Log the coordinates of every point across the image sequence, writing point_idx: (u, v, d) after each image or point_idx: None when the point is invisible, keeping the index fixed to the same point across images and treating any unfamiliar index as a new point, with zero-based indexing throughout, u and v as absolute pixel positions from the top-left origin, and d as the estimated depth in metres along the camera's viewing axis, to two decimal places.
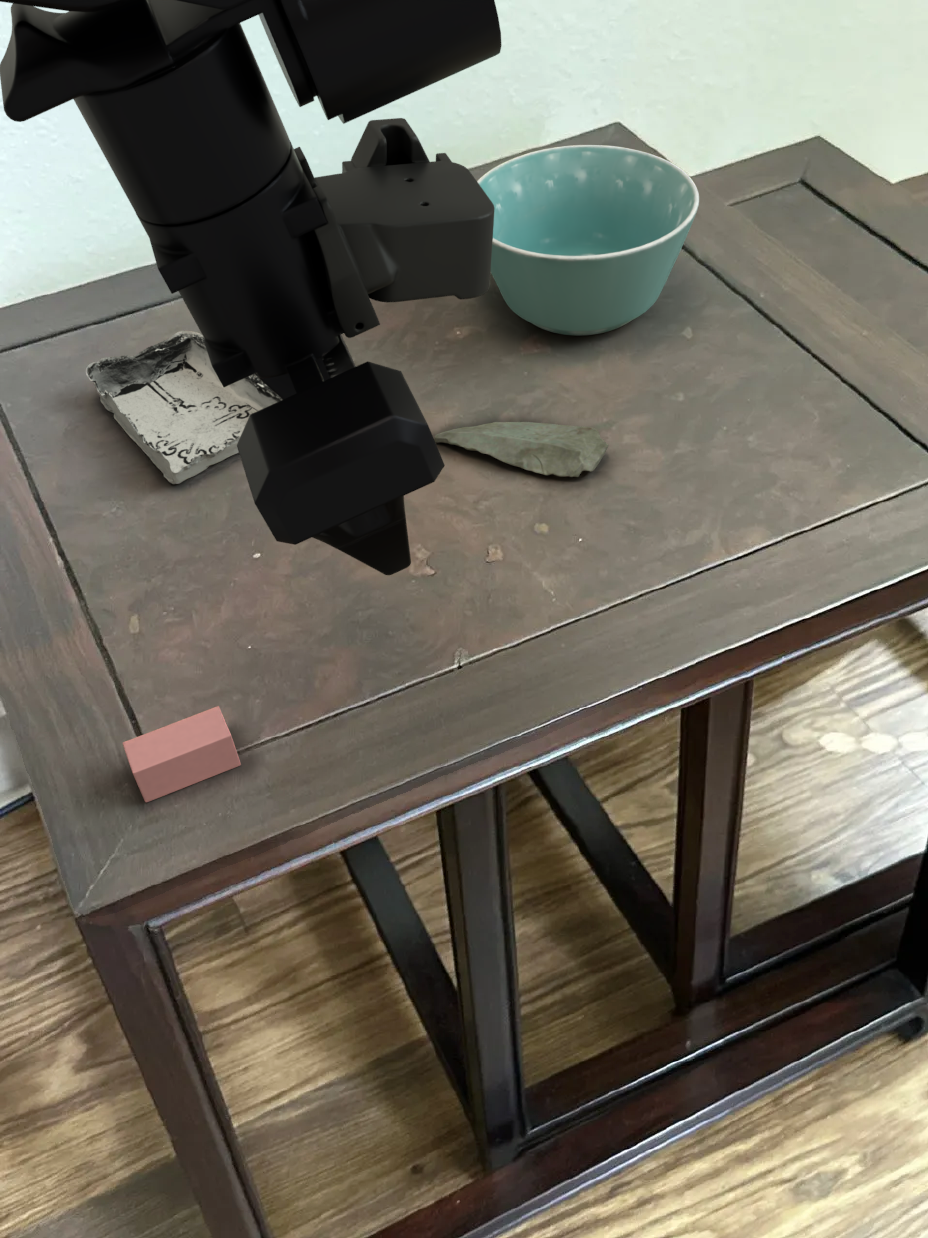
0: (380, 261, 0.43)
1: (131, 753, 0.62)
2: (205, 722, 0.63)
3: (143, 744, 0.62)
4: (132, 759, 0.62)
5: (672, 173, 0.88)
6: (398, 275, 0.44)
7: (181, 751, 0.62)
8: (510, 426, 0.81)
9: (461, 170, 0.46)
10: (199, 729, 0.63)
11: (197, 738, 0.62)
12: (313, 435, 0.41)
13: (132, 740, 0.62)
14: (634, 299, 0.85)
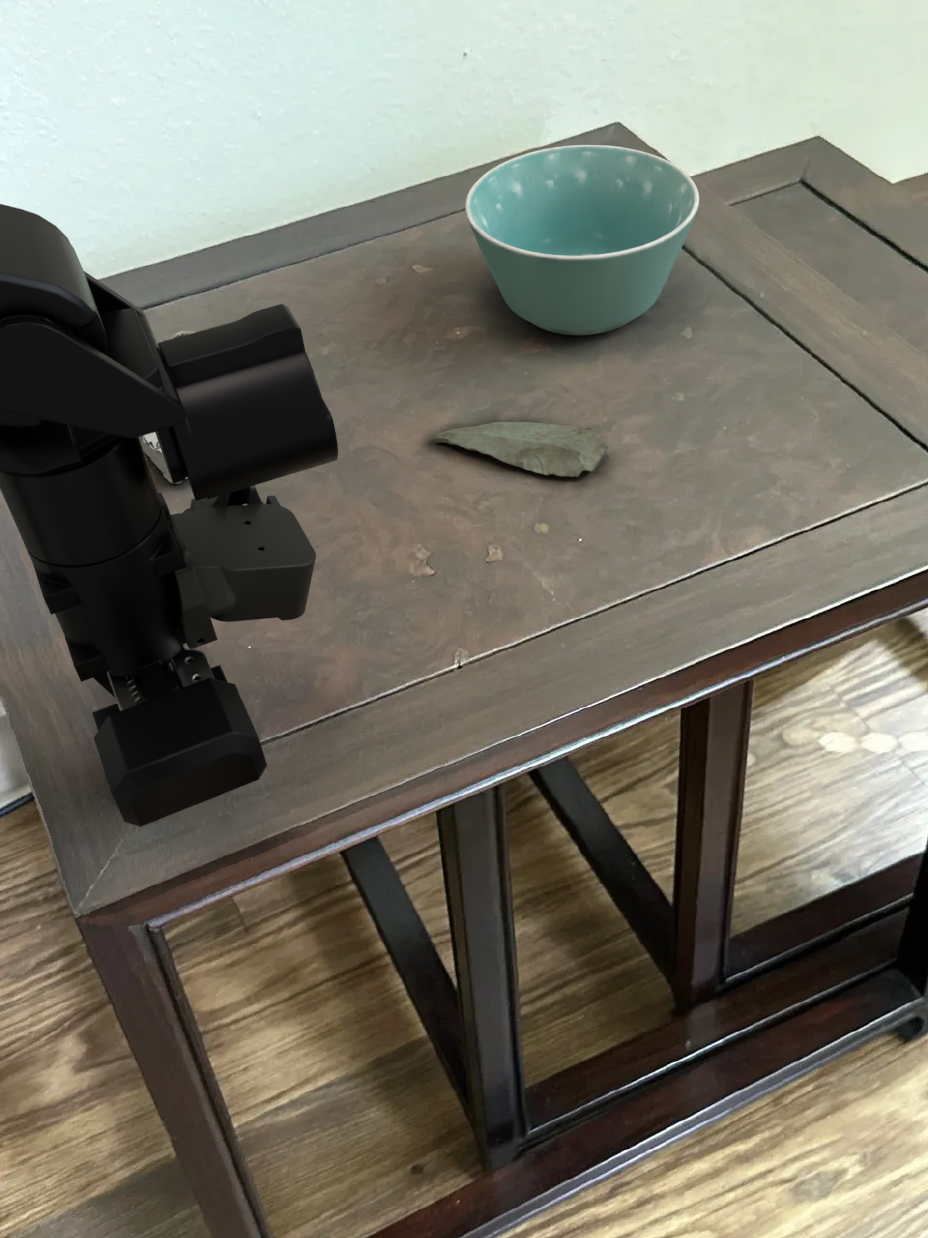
0: (223, 594, 0.54)
1: None
2: None
3: None
4: None
5: (672, 173, 0.88)
6: (236, 603, 0.55)
7: None
8: (510, 426, 0.81)
9: (288, 515, 0.58)
10: None
11: None
12: (165, 742, 0.51)
13: None
14: (634, 299, 0.85)
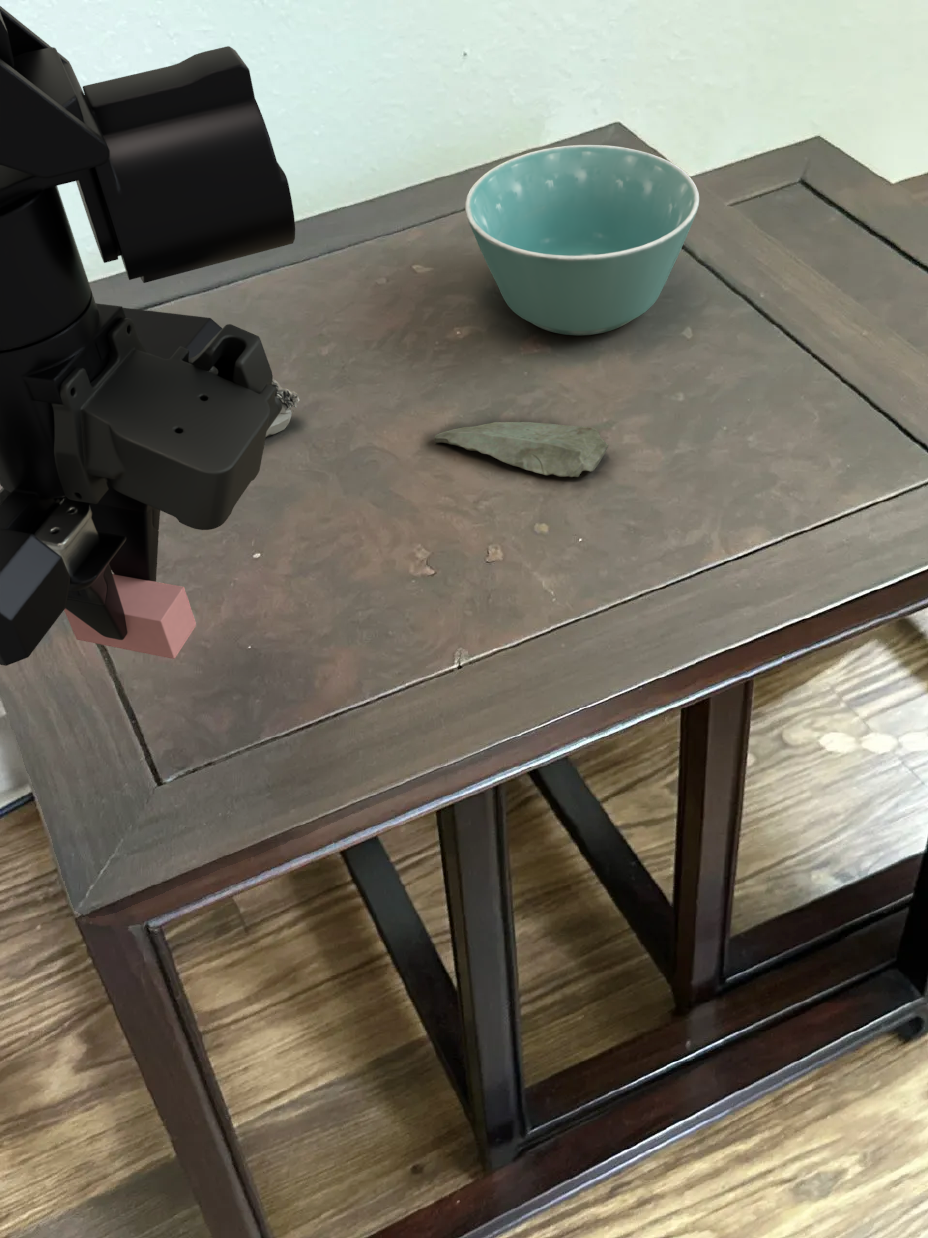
0: (105, 457, 0.45)
1: None
2: (158, 595, 0.55)
3: None
4: None
5: (672, 173, 0.88)
6: (123, 475, 0.46)
7: None
8: (510, 426, 0.81)
9: (260, 414, 0.47)
10: (146, 598, 0.55)
11: (135, 606, 0.55)
12: None
13: None
14: (634, 299, 0.85)
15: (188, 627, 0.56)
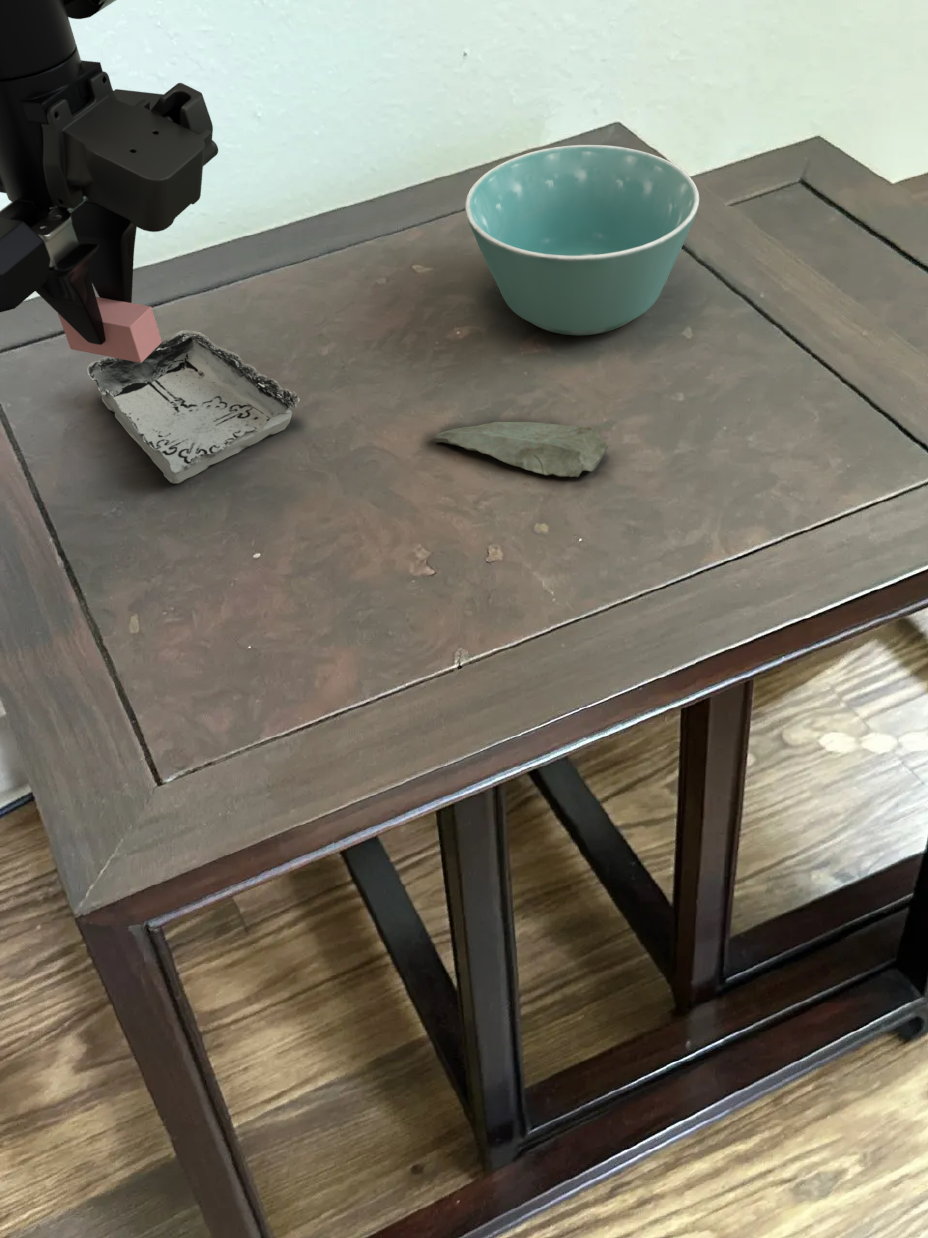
0: (79, 168, 0.62)
1: None
2: (131, 310, 0.72)
3: None
4: None
5: (672, 173, 0.88)
6: (92, 184, 0.62)
7: None
8: (510, 426, 0.81)
9: (196, 146, 0.63)
10: (121, 312, 0.71)
11: (112, 317, 0.71)
12: None
13: None
14: (634, 299, 0.85)
15: (154, 341, 0.73)
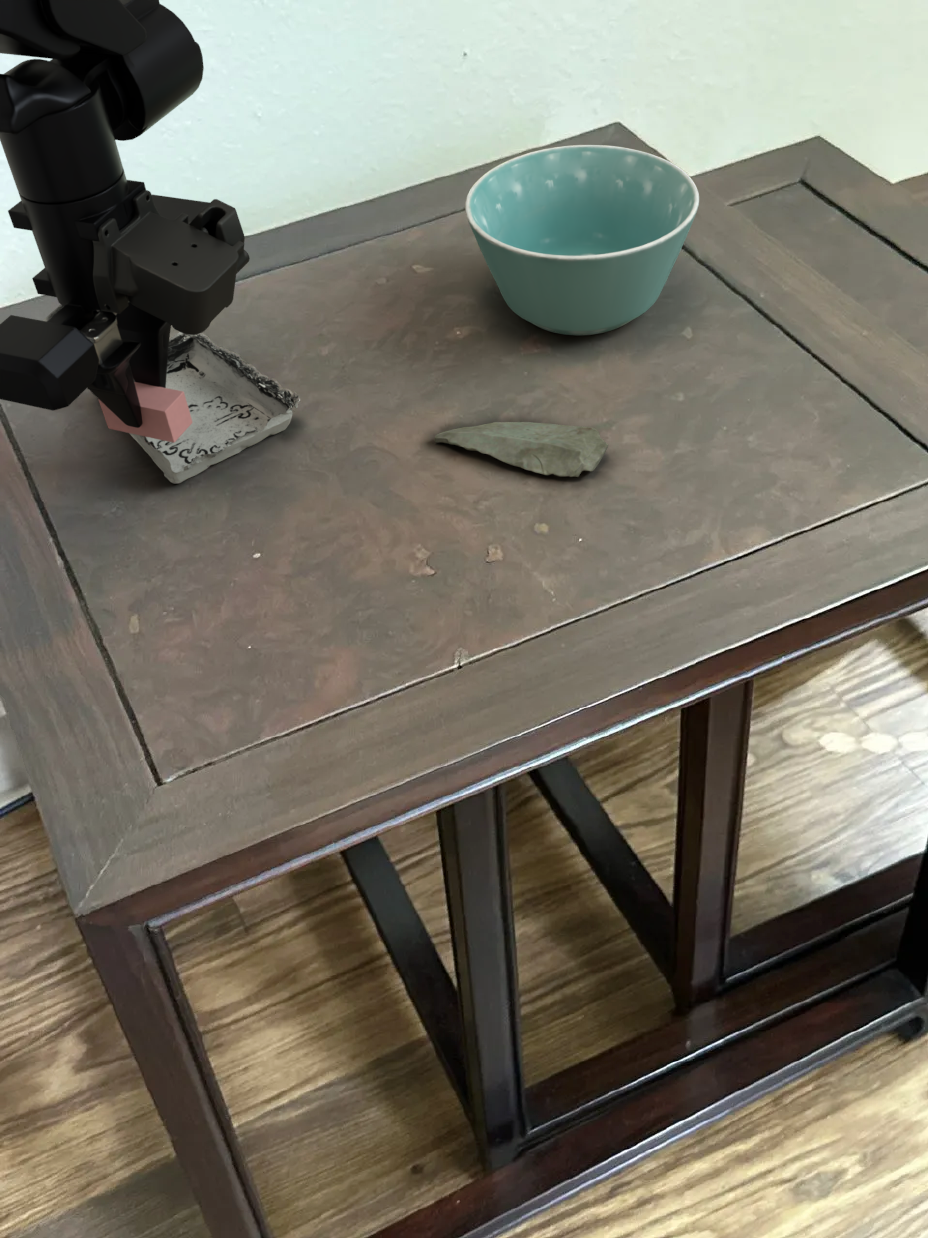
0: (125, 279, 0.68)
1: None
2: (165, 395, 0.78)
3: None
4: None
5: (672, 173, 0.88)
6: (137, 293, 0.69)
7: None
8: (510, 426, 0.81)
9: (231, 258, 0.70)
10: (156, 397, 0.78)
11: (148, 401, 0.78)
12: (7, 344, 0.68)
13: None
14: (634, 299, 0.85)
15: (186, 422, 0.79)
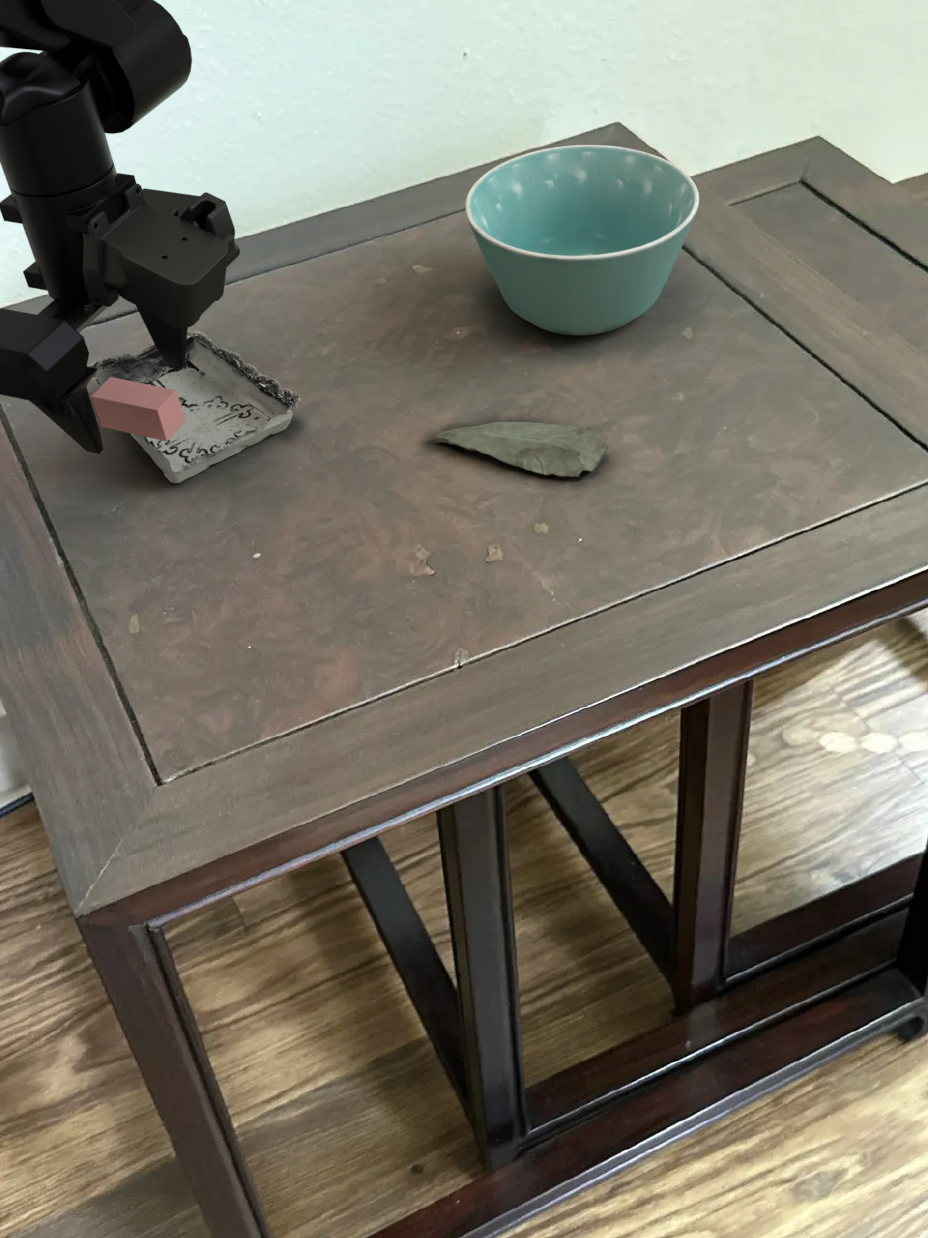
0: (115, 272, 0.68)
1: (105, 385, 0.79)
2: (158, 394, 0.78)
3: (116, 384, 0.79)
4: (101, 388, 0.79)
5: (672, 173, 0.88)
6: (127, 286, 0.69)
7: (125, 400, 0.78)
8: (510, 426, 0.81)
9: (221, 251, 0.70)
10: (149, 395, 0.78)
11: (141, 400, 0.78)
12: None
13: (115, 379, 0.80)
14: (634, 299, 0.85)
15: (179, 421, 0.79)
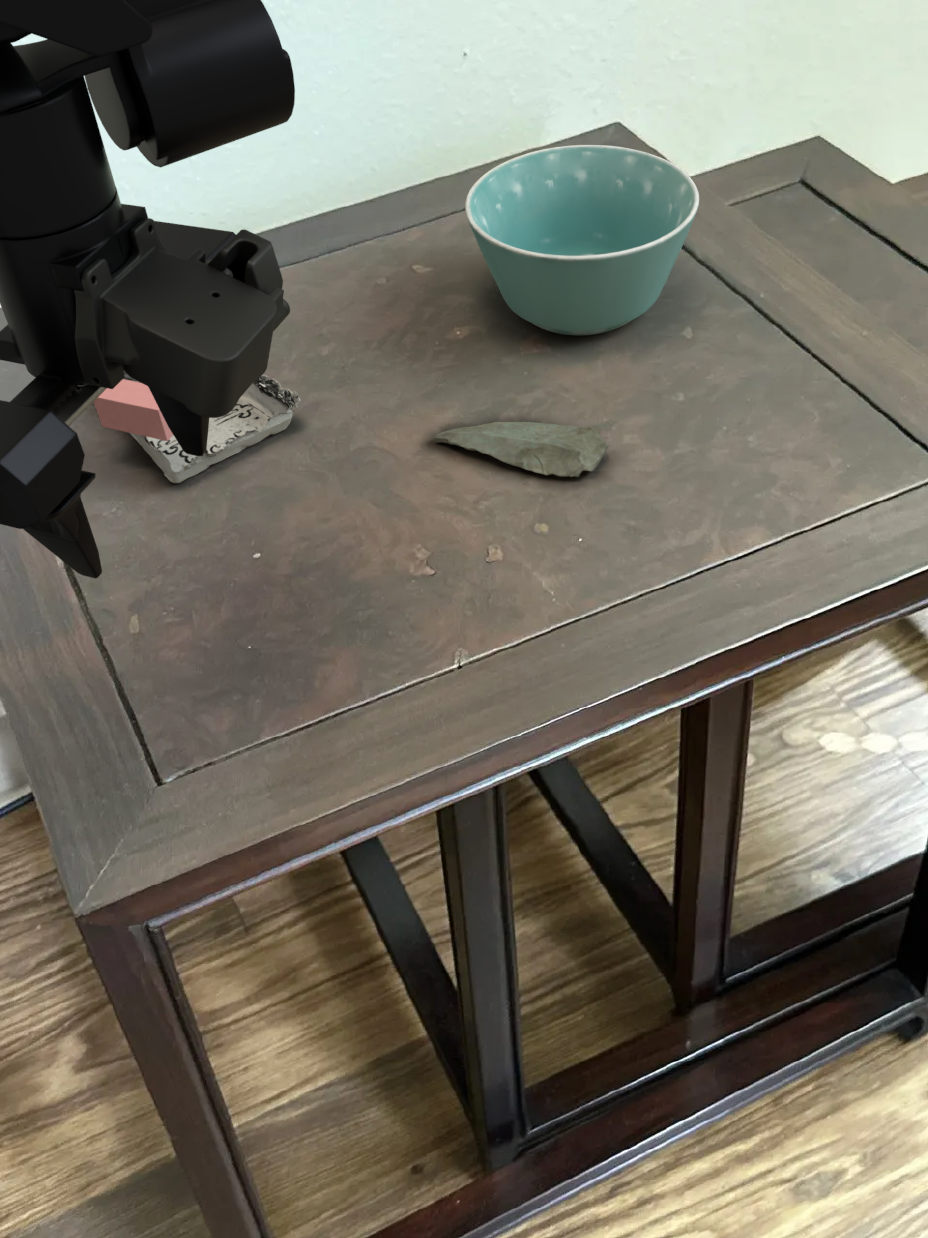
0: (121, 343, 0.49)
1: None
2: None
3: (117, 384, 0.79)
4: None
5: (672, 173, 0.88)
6: (137, 362, 0.49)
7: (126, 400, 0.78)
8: (510, 426, 0.81)
9: (267, 312, 0.50)
10: (150, 395, 0.78)
11: (141, 400, 0.78)
12: None
13: None
14: (634, 299, 0.85)
15: None
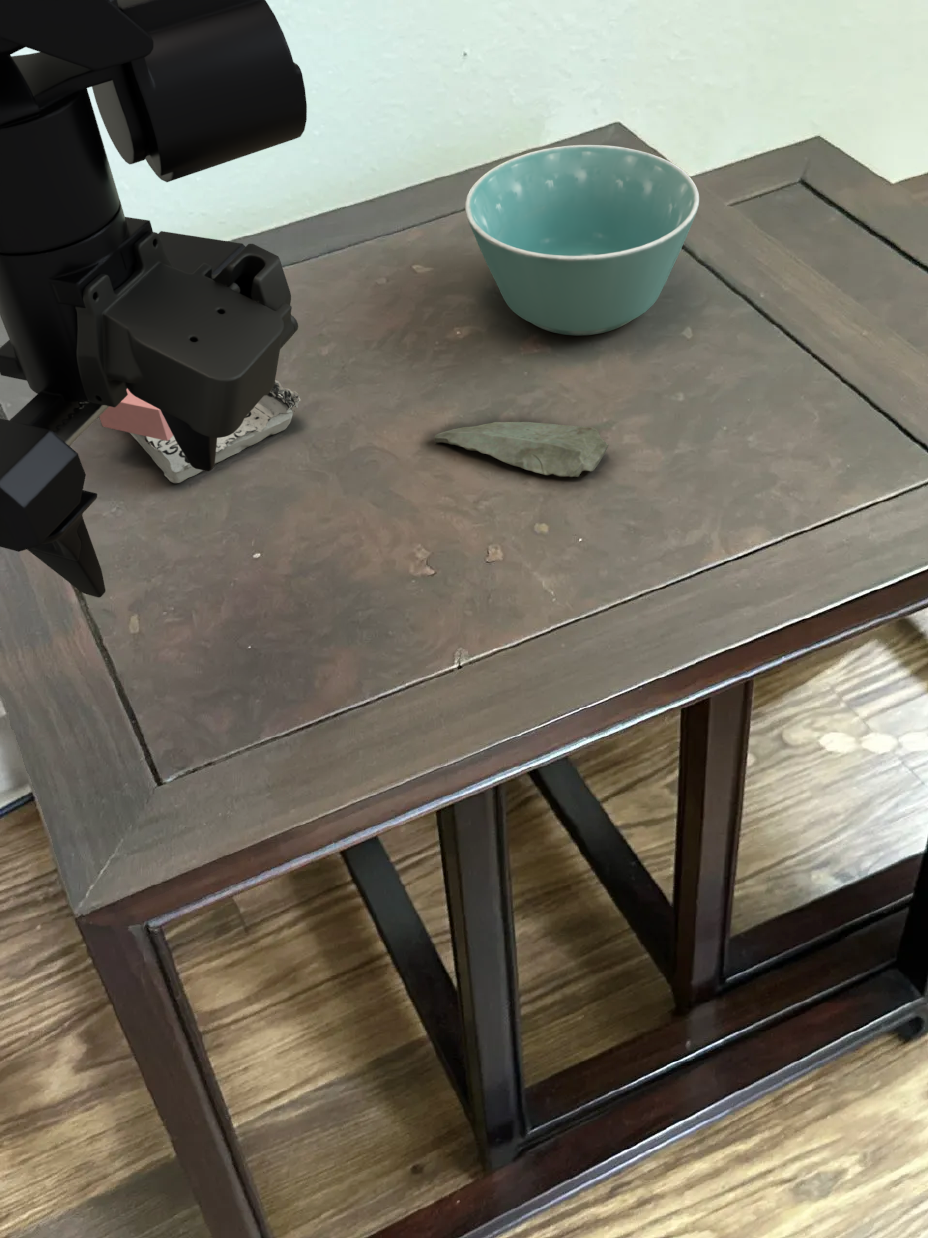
0: (123, 361, 0.48)
1: None
2: None
3: None
4: None
5: (672, 173, 0.88)
6: (140, 380, 0.48)
7: (126, 400, 0.78)
8: (510, 426, 0.81)
9: (274, 329, 0.49)
10: None
11: (142, 400, 0.78)
12: None
13: None
14: (634, 299, 0.85)
15: None
